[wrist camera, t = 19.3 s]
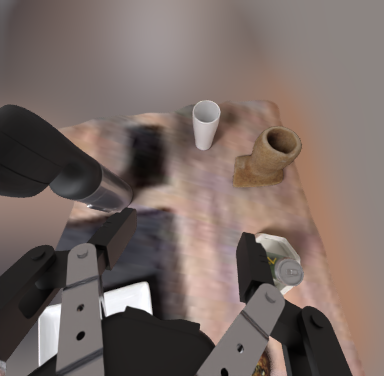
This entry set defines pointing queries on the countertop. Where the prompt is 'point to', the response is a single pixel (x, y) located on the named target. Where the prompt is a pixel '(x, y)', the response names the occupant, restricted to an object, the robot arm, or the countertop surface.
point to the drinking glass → (205, 123)
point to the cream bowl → (281, 248)
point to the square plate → (114, 303)
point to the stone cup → (267, 158)
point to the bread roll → (262, 366)
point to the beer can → (285, 269)
